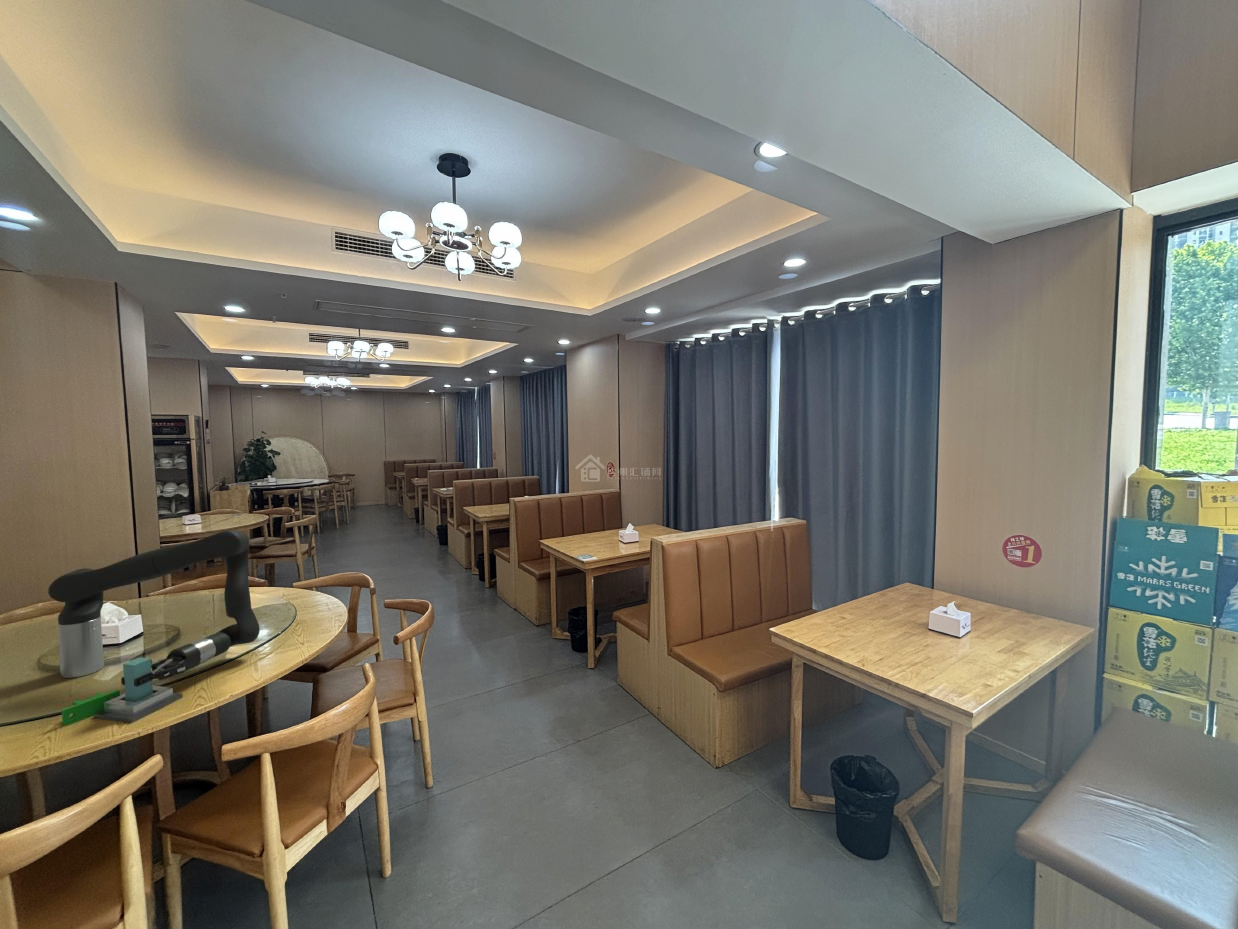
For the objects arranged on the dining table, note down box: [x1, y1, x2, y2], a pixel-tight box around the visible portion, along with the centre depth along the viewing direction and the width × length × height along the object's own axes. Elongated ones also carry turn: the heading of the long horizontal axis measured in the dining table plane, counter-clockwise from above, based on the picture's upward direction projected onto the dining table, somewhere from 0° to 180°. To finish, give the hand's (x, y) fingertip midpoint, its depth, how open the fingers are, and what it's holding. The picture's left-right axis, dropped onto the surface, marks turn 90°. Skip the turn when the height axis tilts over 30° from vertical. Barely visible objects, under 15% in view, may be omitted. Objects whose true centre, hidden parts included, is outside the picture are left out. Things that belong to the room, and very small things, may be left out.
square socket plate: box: [92, 684, 184, 724], centre depth 139 cm, size 13×13×4 cm
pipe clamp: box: [61, 689, 121, 727], centre depth 135 cm, size 11×4×5 cm, turn 156°
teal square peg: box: [122, 657, 153, 702], centre depth 138 cm, size 4×4×12 cm
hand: (129, 682), depth 136 cm, fingers closed on teal square peg, 3 cm apart
